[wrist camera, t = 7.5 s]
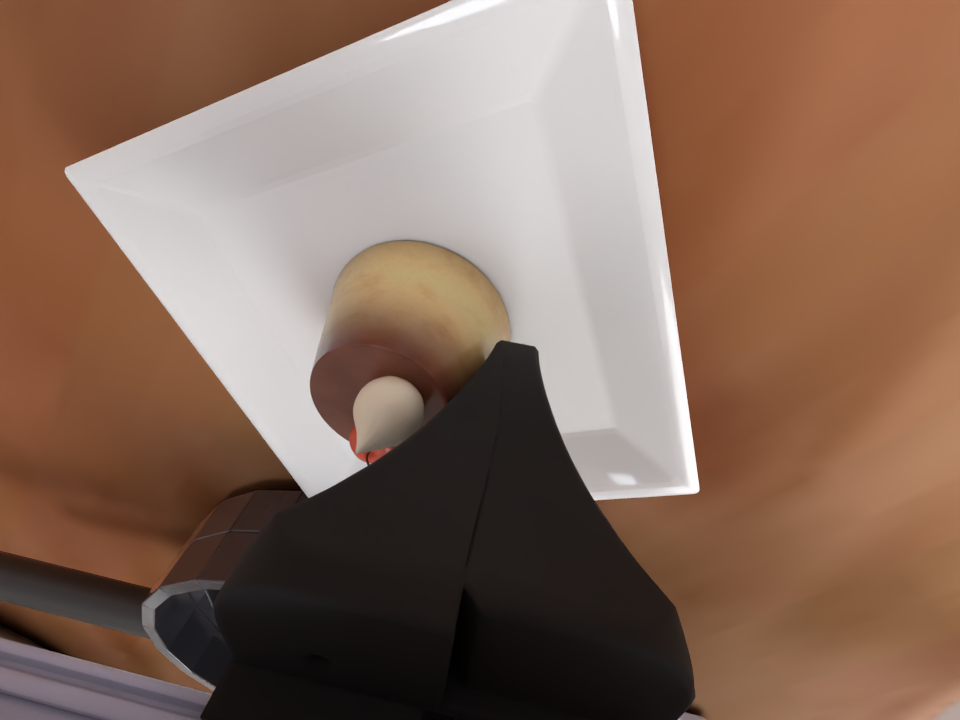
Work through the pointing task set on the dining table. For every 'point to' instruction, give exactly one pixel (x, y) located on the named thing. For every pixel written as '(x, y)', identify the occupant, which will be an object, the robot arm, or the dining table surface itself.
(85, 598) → the pan handle
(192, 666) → the pan
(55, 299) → the dining table surface
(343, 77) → the dessert
